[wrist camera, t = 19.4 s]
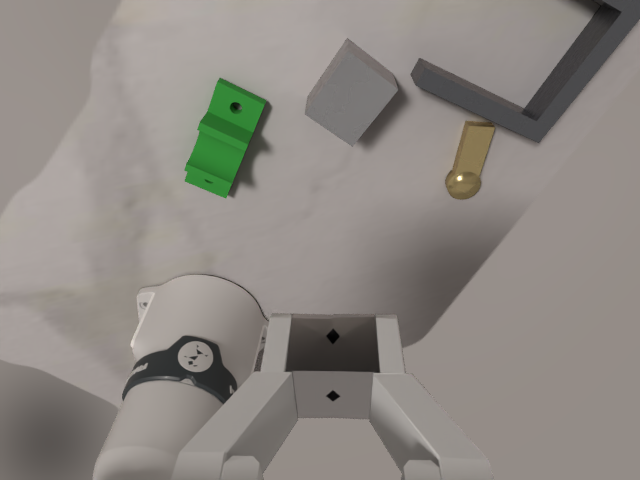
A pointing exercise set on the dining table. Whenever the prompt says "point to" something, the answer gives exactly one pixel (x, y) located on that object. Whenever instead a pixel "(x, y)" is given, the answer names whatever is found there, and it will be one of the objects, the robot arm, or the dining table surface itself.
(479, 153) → the brass key
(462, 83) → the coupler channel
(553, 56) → the dining table surface
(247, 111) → the pipe clamp
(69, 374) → the dining table surface
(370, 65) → the block
